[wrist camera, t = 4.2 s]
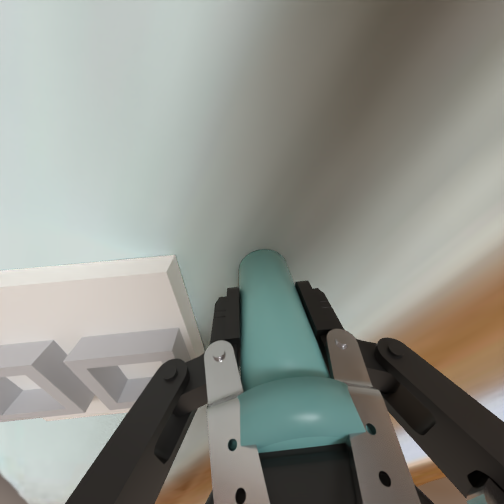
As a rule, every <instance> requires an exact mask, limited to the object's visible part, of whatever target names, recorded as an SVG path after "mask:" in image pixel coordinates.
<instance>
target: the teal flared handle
mask: <svg viewBox="0 0 504 504" xmlns="http://www.w3.org/2000/svg"><path fill="white" fill-rule="evenodd" d="M239 289H240V327H241V348H240V370H241V384H242V388H243V392H244V393H242V394H240V395H239V396H237V398H238V399H239V402H240V444H241V446H246V445H255V444H256V446H257V450H258V453H264V452H272V451H281V450H290V449H298V448H307V447H316V446H325V445H333V444H342V443H346V439H347V437H348V435H349V434H351V433H360V432H366V430H367V431H368V433H369V434H371V435H373V434H372V432H371V430H370V428H369V427H368V426H366V430H365V428H364V426H363V423H362V421H361V419H360V416H359V414H358V412H357V410H356V407H355V405H354V403H353V401H352V398H351V396H350V393H349V391H348V385H347V384H345V383H343V382H341V381H338V380H334V379H331V377H330V374H329V372H328V369H327V366H326V364H325V361H324V359H323V356H322V354H321V351H320V349H319V346H318V343H317V341H316V338H315V336H314V333H313V331H312V328H311V326H310V323H309V320H308V318H307V315H306V313H305V310H304V308H303V305H302V303H301V300H300V297H299V295H298V292H297V290H296V287H295V285H294V282H293V279H292V277H291V274H290V272H289V269H288V267H287V264H286V262H285V260H284V258H283V257H282V256H281V255H280V254H279V253H277V252H275V251H272V250H257V251H254V252H252V253H250V254H248V255H247V256H246V257H245V258H244V259H243V260H242V262H241V264H240V267H239ZM236 448H237V442H236V441H234V442H233V443H232V444H231V447H230V451H234V450H235V449H236Z"/></svg>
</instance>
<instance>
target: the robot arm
mask: <svg viewBox="0 0 504 504" xmlns="http://www.w3.org/2000/svg"><path fill="white" fill-rule="evenodd" d="M295 287H296V290H297V292H298V295H299V297H300V300H301V303H302V305H303V308H304V310H305V313H306V315H307V318H308V320H309V323H310V326H311V328H312V331H313V333H314V336H315V338H316V341H317V343H318V346H319V349H320V351H321V354H322V356H323V359H324V361H325V364H326V366H327V369H328V372H329V374H330V377H331V379H334V380H338V381H341V382H343V383H345V384H347V385H348V391H349V393H350V396H351V398H352V401H353V403H354V405H355V407H356V410H357V412H358V414H359V416H360V419H361V421H362V423H363V426H364V428H365V430H366V426H368V427H369V428H370V430H371V432H372V434H373V435H371V434H369V433H368V431H367V430H366V432H360V433H351V434H349V435H348V437H347V439H346V443H342V444H333V445H325V446H316V447H307V448H298V449H290V450H281V451H272V452H264V453H258V450H257V446H256V444H255V445H246V446H241V444H240V402H239V399H238V398H237V396H239V395H240V394H242V393H244V392H243V388H242V384H241V380H240V348H241V327H240V289H239V287H235V288H227V297H219V299H218V301H217V302H216V304H215V310H214V319H213V326H212V334H211V341H210V345H209V346H208V348H207V349H206V351H205V352H204V353H203V354H202V355H200V356H199V357H197V358H194V359H192V360H190V361H187V362H184V361H183V360H181V359H171V360H168V361H167V362H165V363H164V364H162V365H161V366H160V367H159V369H158V370H157V371H156V373H155V374H154V376H153V377H152V379H151V380H150V381H149V383H148V384H147V386H146V387H145V389H144V390H143V392H142V393H141V394H140V396H139V397H138V399H137V400H136V402H135V403H134V405H133V406H132V408H131V409H130V410H129V412H128V413H127V415H126V416H125V418H124V419H123V421H122V422H121V423H120V425H119V426H118V428H117V429H116V431H115V432H114V434H113V435H112V436H111V438H110V439H109V441H108V442H107V444H106V445H105V447H104V448H103V449H102V451H101V452H100V454H99V455H98V457H97V458H96V460H95V461H94V463H93V464H92V465H91V467H90V468H89V470H88V471H87V473H86V474H85V476H84V477H83V478H82V480H81V481H80V483H79V484H78V486H77V487H76V489H75V490H74V491H73V493H72V494H71V496H70V497H69V499H68V500H67V502H66V503H65V504H155V501H156V499H157V497H158V495H159V493H160V490H161V488H162V486H163V484H164V481H165V479H166V477H167V475H168V473H169V470H170V468H171V466H172V464H173V461H174V459H175V457H176V455H177V453H178V450H179V448H180V446H181V444H182V442H183V439H184V437H185V435H186V433H187V430H188V428H189V426H190V424H191V422H192V419H193V417H194V415H195V413H196V411H197V408H199V407H201V406H203V405H205V404H207V403H208V406H207V424H208V437H209V449H210V462H211V474H212V487H213V490H212V492H211V494H210V495H209V497H208V499H207V501H206V503H205V504H434V503H433V502H432V501H431V500H430V499H429V498H428V497H427V496H426V495H425V494H424V493H423V492H422V491H421V490H419V489H418V488H417V487H416V486H415V485H414V483H413V480H412V477H411V475H410V472H409V469H408V466H407V463H406V461H405V458H404V455H403V452H402V450H401V447H400V444H399V441H398V438H397V436H396V433H395V430H394V427H393V424H392V422H391V419H390V416H389V413H390V414H391V415H392V416H393V417H394V418H395V419H396V421H397V422H398V423H399V424H400V425H401V426H402V427H403V428H404V430H405V431H406V432H407V433H408V434H409V435H410V436H411V437H412V438H413V440H414V441H415V442H416V443H417V444H418V445H419V446H420V447H421V449H422V450H423V451H424V452H425V453H426V454H427V455H428V456H429V457H430V459H431V460H432V461H433V462H434V463H435V464H436V465H437V466H438V468H439V469H440V470H441V471H442V472H443V473H444V474H445V475H446V477H447V478H448V479H449V480H450V481H451V482H452V483H453V484H454V485H455V487H457V489H458V490H459V491H460V492H461V493H462V494H463V495H464V497H465V498H466V499H467V504H504V422H503V421H502V420H500V419H499V418H498V417H497V416H495V415H494V414H493V413H491V412H490V411H489V410H488V409H486V408H485V407H484V406H483V405H481V404H480V403H479V402H477V401H476V400H475V399H474V398H472V397H471V396H470V395H468V394H467V393H466V392H465V391H463V390H462V389H461V388H460V387H458V386H457V385H456V384H454V383H453V382H452V381H451V380H449V379H448V378H447V377H446V376H444V375H443V374H442V373H440V372H439V371H438V370H437V369H435V368H434V367H433V366H432V365H430V364H429V363H428V362H426V361H425V360H424V359H423V358H421V357H420V356H419V355H418V354H416V353H415V352H414V351H412V350H411V349H410V348H409V347H407V346H406V345H405V344H403V343H402V342H400V341H398V340H396V339H392V338H382V339H380V340H379V341H378V343H377V344H376V343H371V342H366V341H361V340H358V339H356V338H355V337H354V336H353V335H352V334H351V333H349V332H348V331H345V330H344V328H343V327H342V325H341V323H340V321H339V319H338V318H337V316H336V314H335V312H334V310H333V309H332V307H331V305H330V303H329V302H328V300H327V298H326V296H325V294H324V293H323V292H322V291H320V290H319V289H318V288H315V289H312V287H311V285H310V283H309V281H300V282H296V283H295ZM388 412H389V413H388ZM234 441H236V442H237V448H236V449H235V450H234V451H230V447H231V444H232V443H233V442H234Z"/></svg>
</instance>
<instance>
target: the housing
mask: <svg viewBox="0 0 504 504" xmlns="http://www.w3.org/2000/svg"><path fill="white" fill-rule="evenodd" d="M204 352H205V349H204V346H203V343H202V340H201V336H200V333H199V330H198V327H197V324H196V320H195V317H194V314H193V311H192V307H191V304H190V301H189V298H188V294H187V291H186V288H185V285H184V282H183V278H182V275H181V272H180V269H179V265H178V262H177V259H176V256H175V255H168V256H157V257H145V258H134V259H123V260H112V261H100V262H89V263H78V264H67V265H55V266H44V267H33V268H22V269H11V270H0V422H5V421H15V420H24V419H33V418H43V419H44V420H46V421H52V420H62V419H71V418H80V417H89V416H99V415H108V414H117V413H126V412H129V410H130V409H131V408H132V406H133V405H134V403H135V402H136V400H137V399H138V397H139V396H140V394H141V393H142V392H143V390H144V389H145V387H146V386H147V384H148V383H149V381H150V380H151V379H152V377H153V376H154V374H155V373H156V371H157V370H158V369H159V367H160V366H161V365H162V364H164V363H165V362H167V361H168V360H171V359H181V360H183V361H184V362H187V361H190V360H192V359H194V358H197V357H199V356H200V355H202V354H203V353H204ZM207 404H208V403H207Z"/></svg>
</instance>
